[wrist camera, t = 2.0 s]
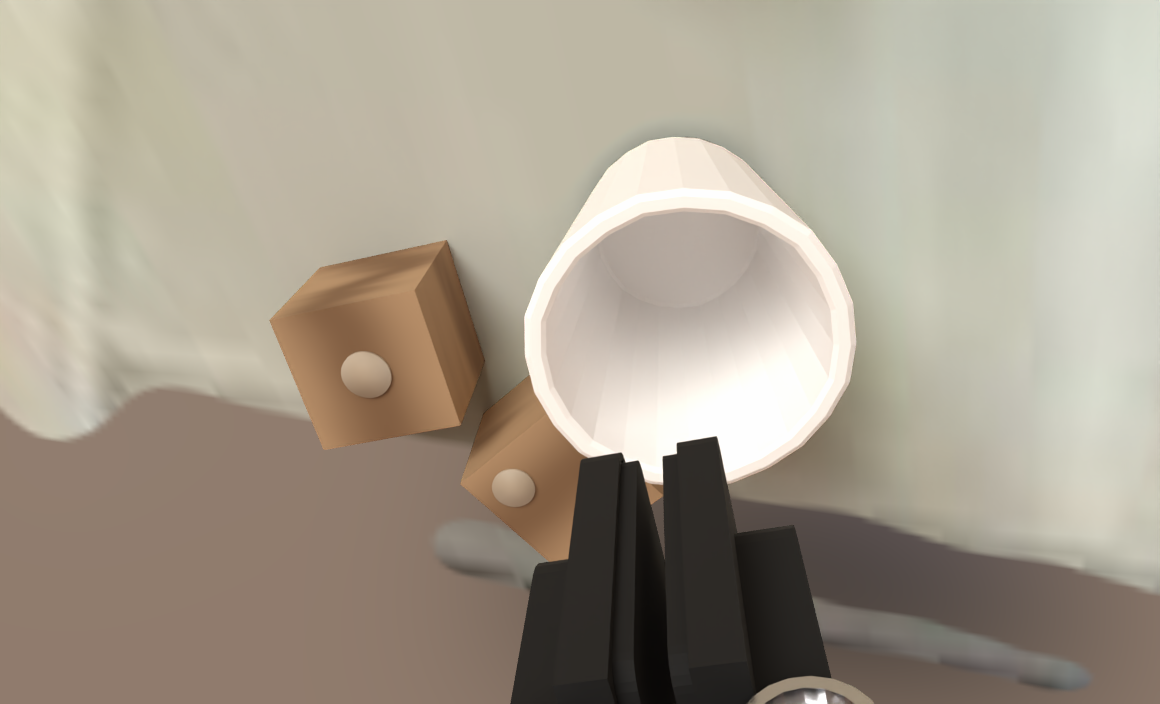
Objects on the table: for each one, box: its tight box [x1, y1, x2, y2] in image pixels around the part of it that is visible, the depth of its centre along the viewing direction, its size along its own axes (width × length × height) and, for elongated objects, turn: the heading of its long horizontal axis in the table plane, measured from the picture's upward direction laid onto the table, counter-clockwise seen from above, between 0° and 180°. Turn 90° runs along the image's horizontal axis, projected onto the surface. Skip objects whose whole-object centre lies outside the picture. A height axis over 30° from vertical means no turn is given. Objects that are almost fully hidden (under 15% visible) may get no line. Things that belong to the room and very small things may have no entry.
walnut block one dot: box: [269, 240, 485, 450], centre depth 38 cm, size 6×6×6 cm
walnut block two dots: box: [460, 375, 663, 562], centre depth 40 cm, size 6×6×6 cm
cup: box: [524, 137, 856, 485], centre depth 32 cm, size 10×10×13 cm
